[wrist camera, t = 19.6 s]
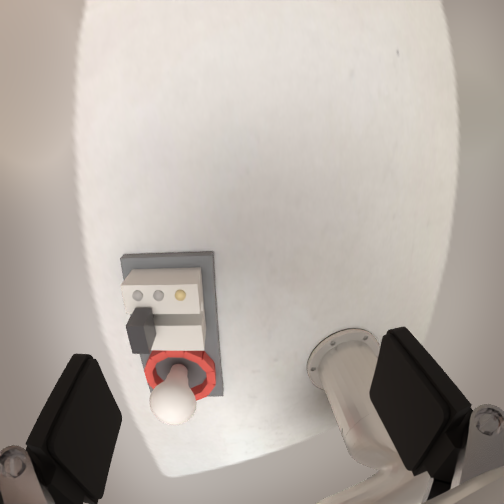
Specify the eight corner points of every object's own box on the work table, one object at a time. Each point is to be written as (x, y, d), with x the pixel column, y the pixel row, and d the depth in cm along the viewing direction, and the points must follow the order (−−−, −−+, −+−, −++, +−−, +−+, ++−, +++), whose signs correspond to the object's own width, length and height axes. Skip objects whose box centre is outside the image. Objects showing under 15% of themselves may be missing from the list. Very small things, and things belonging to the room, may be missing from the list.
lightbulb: (189, 346, 41) (180, 398, 30) (206, 376, 42) (203, 429, 32) (153, 356, 41) (136, 406, 30) (171, 385, 43) (160, 436, 32)
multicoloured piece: (223, 389, 46) (223, 420, 39) (152, 389, 45) (145, 418, 38) (213, 251, 38) (210, 272, 31) (123, 254, 37) (105, 274, 31)
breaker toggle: (161, 319, 37) (149, 354, 30) (146, 319, 37) (132, 353, 30) (157, 294, 36) (143, 326, 29) (142, 294, 35) (125, 326, 28)
